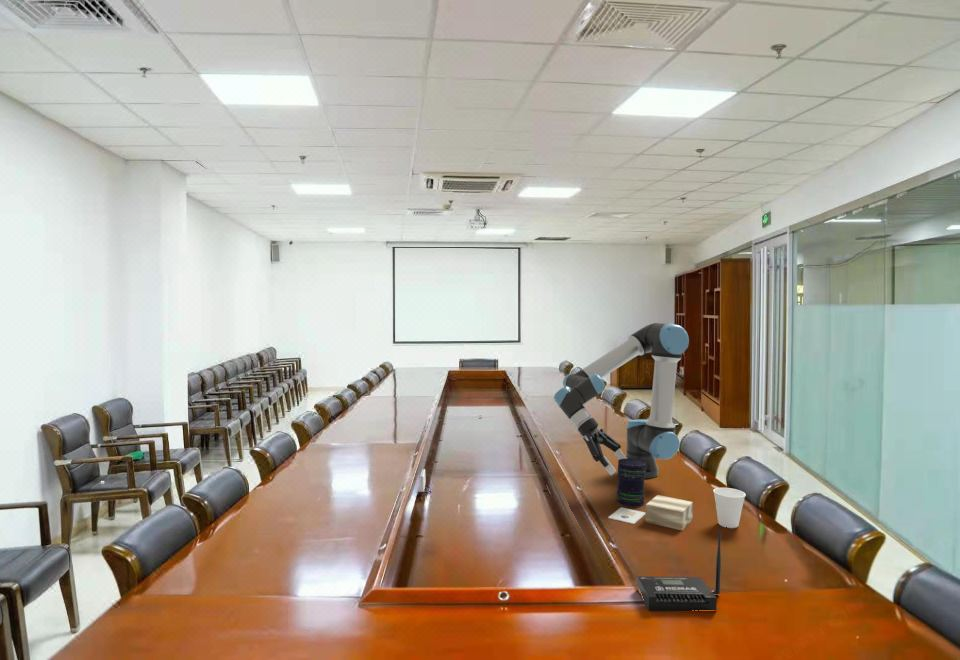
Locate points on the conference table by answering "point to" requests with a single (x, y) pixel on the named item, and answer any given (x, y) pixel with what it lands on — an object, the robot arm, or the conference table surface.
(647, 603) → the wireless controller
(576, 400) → the robot arm
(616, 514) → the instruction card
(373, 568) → the conference table surface
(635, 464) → the storage jar
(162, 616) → the conference table surface
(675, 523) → the base block
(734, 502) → the cup
